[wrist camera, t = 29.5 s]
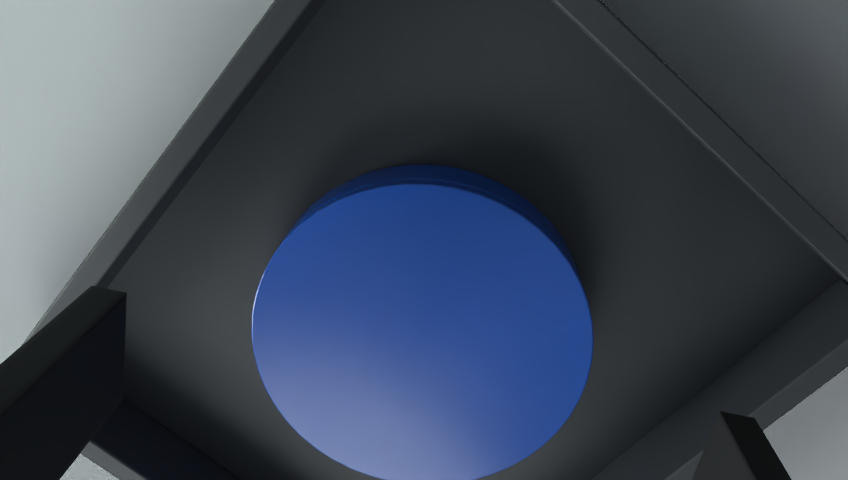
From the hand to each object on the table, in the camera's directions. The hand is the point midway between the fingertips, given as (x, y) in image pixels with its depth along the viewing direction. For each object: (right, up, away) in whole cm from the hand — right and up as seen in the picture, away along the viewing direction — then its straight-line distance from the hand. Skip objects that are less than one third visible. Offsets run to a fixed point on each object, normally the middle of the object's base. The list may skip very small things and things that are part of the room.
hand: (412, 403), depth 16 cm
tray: (0, +2, +4) cm, 5 cm away
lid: (0, +1, +2) cm, 3 cm away
